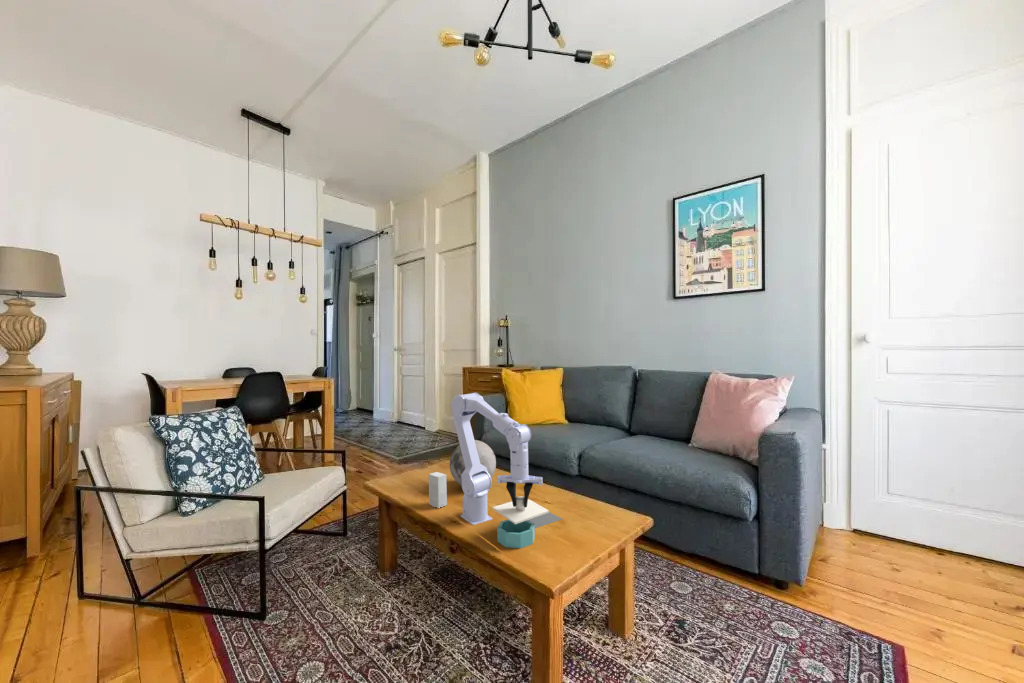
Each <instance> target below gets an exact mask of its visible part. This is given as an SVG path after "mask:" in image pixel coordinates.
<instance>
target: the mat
mask: <svg viewBox="0 0 1024 683" xmlns="http://www.w3.org/2000/svg"><path fill="white" fill-rule="evenodd" d="M562 520H563V518H562V517H560V516H558V515H556V514H554V513H552V512H550V511H549V513H546V514H543V515H541V516H538V517H535V518H532V519H529V521H530V522H532V523H534V524H535V529H537V528H538V529H539V528H541V527H544V526H546V525H549V524H552V523H555V522H560V521H562Z"/></svg>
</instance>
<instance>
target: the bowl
mask: <svg viewBox="0 0 1024 683" xmlns="http://www.w3.org/2000/svg"><path fill="white" fill-rule="evenodd" d="M535 529H536V528H535V524H534V523H532V522H530V521H529V520H526V521H524V522H521V523H518V524H514V523H513V522H511V521H510V520H508V519H505V520H502V521H500V522H499V524H498V526H497V529H496V531H497V533H496V534H497V538H496V539H497V542H498V543H499V544H501V545H502V546H503V547H505V548H510V549H523V548H526V547H528V546H531V545H533V544H534V541H535V538H536V534H535Z"/></svg>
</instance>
